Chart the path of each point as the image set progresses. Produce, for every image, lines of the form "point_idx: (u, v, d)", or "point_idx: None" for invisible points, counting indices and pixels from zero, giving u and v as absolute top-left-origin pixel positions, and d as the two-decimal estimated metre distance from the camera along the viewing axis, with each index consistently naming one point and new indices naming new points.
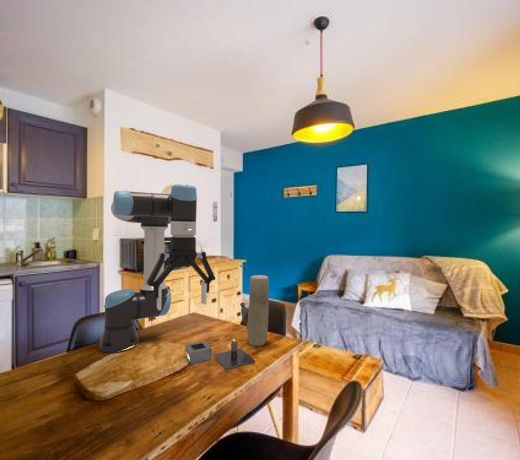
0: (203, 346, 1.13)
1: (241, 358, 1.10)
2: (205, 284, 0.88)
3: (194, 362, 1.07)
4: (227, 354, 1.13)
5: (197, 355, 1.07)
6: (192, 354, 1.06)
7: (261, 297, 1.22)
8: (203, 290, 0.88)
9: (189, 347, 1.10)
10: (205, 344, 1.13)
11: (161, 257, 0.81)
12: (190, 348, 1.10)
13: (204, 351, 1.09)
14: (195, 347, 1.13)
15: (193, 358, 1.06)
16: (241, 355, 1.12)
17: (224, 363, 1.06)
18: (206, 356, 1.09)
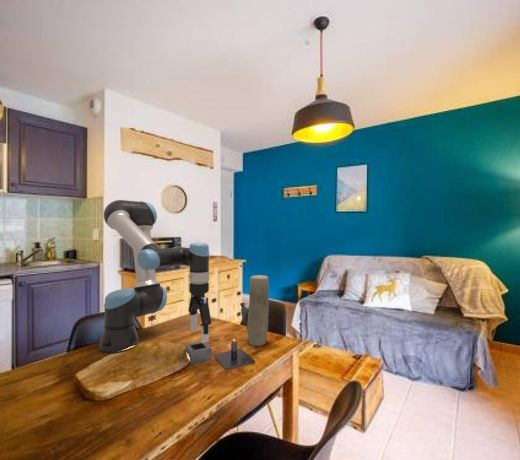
0: (203, 346, 1.13)
1: (241, 358, 1.10)
2: None
3: (194, 362, 1.07)
4: (227, 354, 1.13)
5: (197, 355, 1.07)
6: (192, 354, 1.06)
7: (261, 297, 1.22)
8: None
9: (189, 347, 1.10)
10: (205, 344, 1.13)
11: (191, 294, 1.16)
12: (190, 348, 1.10)
13: (204, 351, 1.09)
14: (195, 347, 1.13)
15: (193, 358, 1.06)
16: (241, 355, 1.12)
17: (224, 363, 1.06)
18: (206, 356, 1.09)
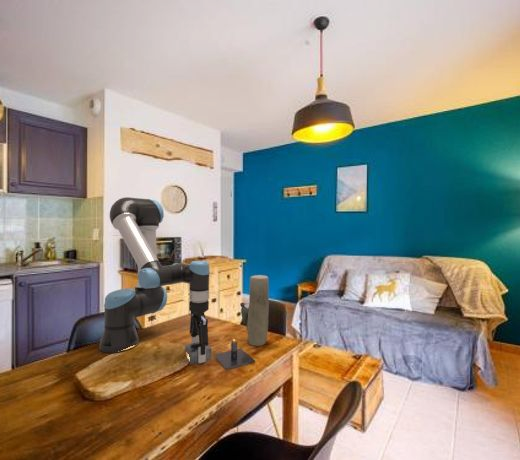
0: None
1: (241, 358, 1.10)
2: None
3: (194, 362, 1.07)
4: (227, 354, 1.13)
5: (197, 355, 1.07)
6: (192, 354, 1.06)
7: (261, 297, 1.22)
8: None
9: (189, 347, 1.10)
10: None
11: (191, 313, 1.16)
12: (190, 348, 1.10)
13: None
14: (195, 347, 1.13)
15: (193, 358, 1.06)
16: (241, 355, 1.12)
17: (224, 363, 1.06)
18: (206, 356, 1.09)
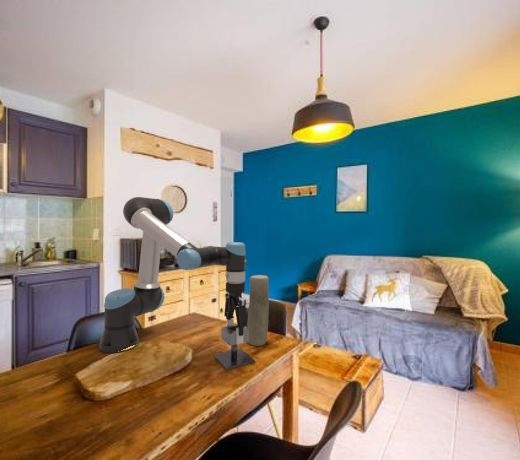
0: None
1: (241, 358, 1.10)
2: None
3: (233, 343, 1.06)
4: (227, 354, 1.13)
5: (235, 336, 1.06)
6: (231, 335, 1.05)
7: (261, 297, 1.22)
8: None
9: (226, 329, 1.09)
10: None
11: None
12: (227, 330, 1.09)
13: None
14: (231, 329, 1.12)
15: (232, 339, 1.05)
16: (241, 355, 1.12)
17: (224, 363, 1.06)
18: (244, 338, 1.08)
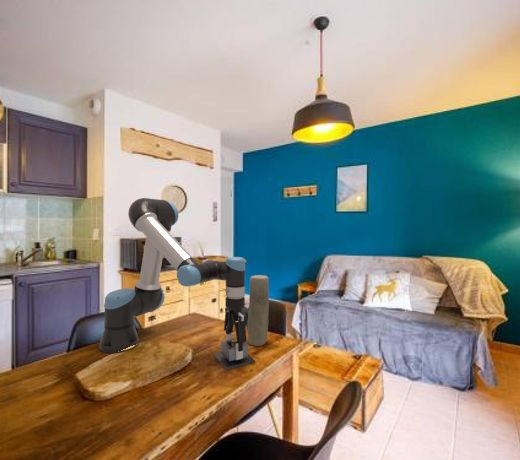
0: None
1: None
2: (236, 343, 1.06)
3: (232, 359, 1.06)
4: None
5: (235, 352, 1.06)
6: (230, 351, 1.05)
7: (261, 297, 1.22)
8: None
9: (226, 344, 1.10)
10: None
11: (225, 310, 1.15)
12: (227, 345, 1.09)
13: None
14: None
15: (231, 355, 1.06)
16: None
17: (224, 363, 1.06)
18: (243, 353, 1.08)
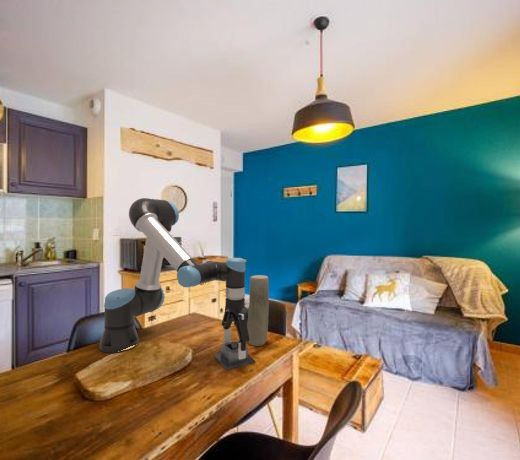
0: (238, 345, 1.13)
1: None
2: (239, 342, 1.04)
3: (232, 362, 1.06)
4: None
5: (235, 355, 1.06)
6: (230, 353, 1.05)
7: (261, 297, 1.22)
8: None
9: (225, 346, 1.10)
10: None
11: (225, 308, 1.15)
12: (227, 347, 1.09)
13: None
14: (230, 346, 1.13)
15: (231, 357, 1.06)
16: None
17: (224, 363, 1.06)
18: None
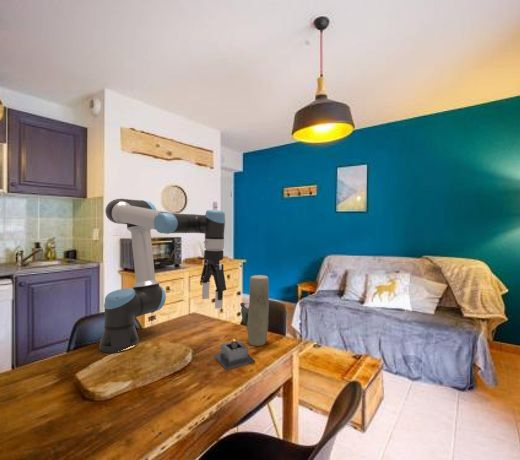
0: (238, 345, 1.13)
1: None
2: (216, 291, 1.04)
3: (232, 362, 1.06)
4: None
5: (235, 355, 1.06)
6: (230, 353, 1.05)
7: (261, 297, 1.22)
8: None
9: (225, 346, 1.10)
10: (240, 343, 1.13)
11: (204, 262, 1.15)
12: (227, 347, 1.09)
13: (241, 350, 1.08)
14: (230, 346, 1.13)
15: (231, 357, 1.06)
16: None
17: (224, 363, 1.06)
18: (243, 355, 1.08)
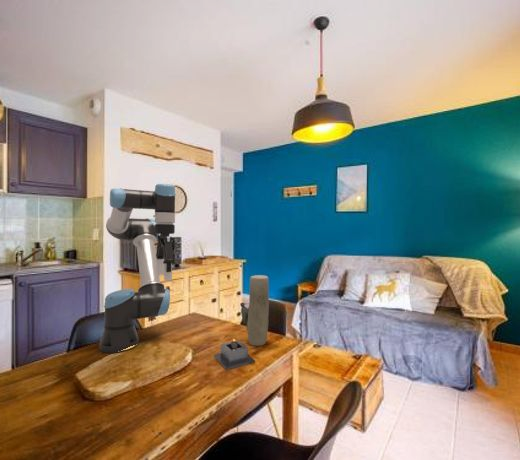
0: (238, 345, 1.13)
1: None
2: (164, 264, 1.04)
3: (232, 362, 1.06)
4: None
5: (235, 355, 1.06)
6: (230, 353, 1.05)
7: (261, 297, 1.22)
8: None
9: (225, 346, 1.10)
10: (240, 343, 1.13)
11: (158, 238, 1.16)
12: (227, 347, 1.09)
13: (241, 350, 1.08)
14: (230, 346, 1.13)
15: (231, 357, 1.06)
16: None
17: (224, 363, 1.06)
18: (243, 355, 1.08)
